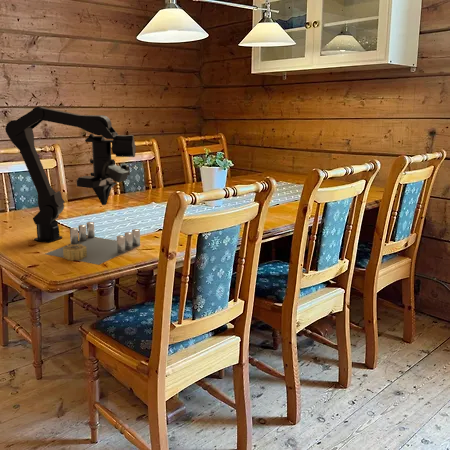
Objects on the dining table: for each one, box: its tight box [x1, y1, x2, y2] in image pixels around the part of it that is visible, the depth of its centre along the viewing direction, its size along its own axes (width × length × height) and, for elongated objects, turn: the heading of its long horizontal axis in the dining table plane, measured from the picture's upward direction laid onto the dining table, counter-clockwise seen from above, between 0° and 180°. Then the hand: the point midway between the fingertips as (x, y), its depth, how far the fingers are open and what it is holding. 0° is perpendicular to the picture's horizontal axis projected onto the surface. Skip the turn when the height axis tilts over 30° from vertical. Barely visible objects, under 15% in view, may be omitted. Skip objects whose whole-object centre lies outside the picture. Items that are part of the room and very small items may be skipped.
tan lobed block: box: [62, 244, 87, 262], centre depth 144 cm, size 6×6×3 cm
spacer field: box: [69, 221, 141, 254], centre depth 156 cm, size 20×10×5 cm, turn 66°
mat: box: [45, 236, 138, 266], centre depth 152 cm, size 20×21×1 cm
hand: (104, 204), depth 158 cm, fingers closed
